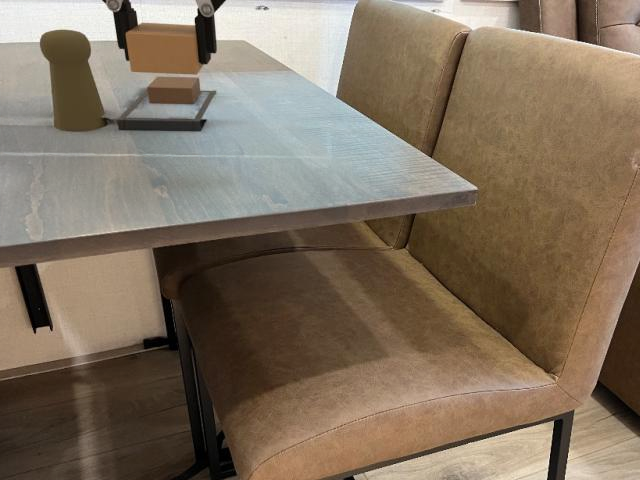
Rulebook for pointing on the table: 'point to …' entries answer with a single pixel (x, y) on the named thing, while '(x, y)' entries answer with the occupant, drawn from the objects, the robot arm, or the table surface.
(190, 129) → the frame
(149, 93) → the pad
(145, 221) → the table surface
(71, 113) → the olive pawn
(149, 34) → the loose pad
